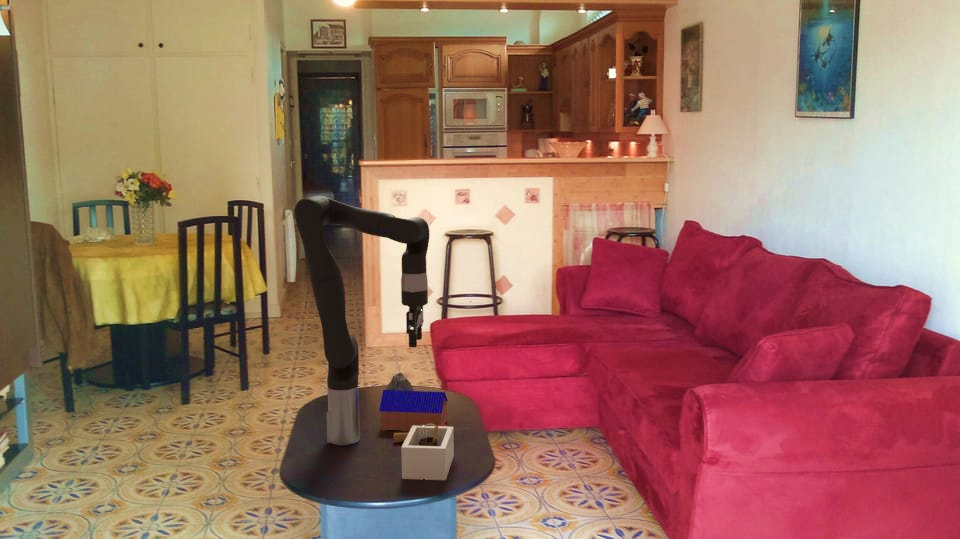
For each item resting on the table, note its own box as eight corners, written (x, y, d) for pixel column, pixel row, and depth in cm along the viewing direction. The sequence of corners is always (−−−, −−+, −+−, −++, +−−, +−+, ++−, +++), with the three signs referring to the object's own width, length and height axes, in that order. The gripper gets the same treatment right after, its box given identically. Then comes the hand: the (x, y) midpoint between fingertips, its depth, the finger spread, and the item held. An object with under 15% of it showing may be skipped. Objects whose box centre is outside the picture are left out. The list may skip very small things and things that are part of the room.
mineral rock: (384, 394, 301) (383, 367, 299) (414, 392, 302) (413, 366, 301) (385, 405, 288) (384, 377, 286) (416, 404, 290) (415, 376, 288)
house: (441, 433, 262) (441, 398, 260) (379, 431, 264) (378, 395, 262) (448, 420, 273) (447, 386, 272) (388, 418, 276) (387, 384, 274)
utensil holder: (426, 457, 239) (426, 417, 237) (444, 462, 235) (443, 422, 233) (413, 464, 234) (412, 423, 232) (430, 469, 231) (430, 428, 229)
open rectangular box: (402, 478, 227) (401, 447, 226) (413, 454, 244) (412, 425, 243) (445, 480, 226) (445, 448, 225) (453, 456, 243) (453, 426, 241)
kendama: (393, 452, 250) (452, 445, 248) (390, 431, 250) (449, 424, 248) (398, 447, 258) (455, 440, 256) (395, 426, 258) (453, 420, 256)
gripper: (406, 283, 245) (407, 337, 248) (396, 292, 231) (397, 349, 234) (431, 283, 244) (432, 337, 247) (423, 292, 230) (424, 349, 233)
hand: (415, 343), depth 240 cm, fingers open, 8 cm apart
